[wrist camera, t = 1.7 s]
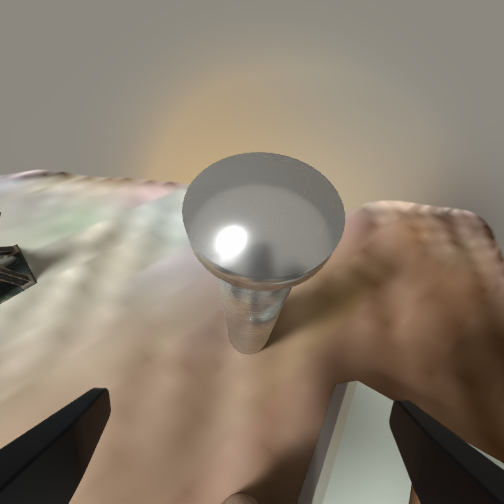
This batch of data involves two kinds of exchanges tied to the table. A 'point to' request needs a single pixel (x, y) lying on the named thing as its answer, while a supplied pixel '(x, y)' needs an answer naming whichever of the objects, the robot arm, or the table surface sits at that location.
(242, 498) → the short stub
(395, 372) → the table surface
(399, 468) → the square washer plate
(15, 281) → the eiffel tower figurine
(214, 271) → the long pin
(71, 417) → the robot arm
